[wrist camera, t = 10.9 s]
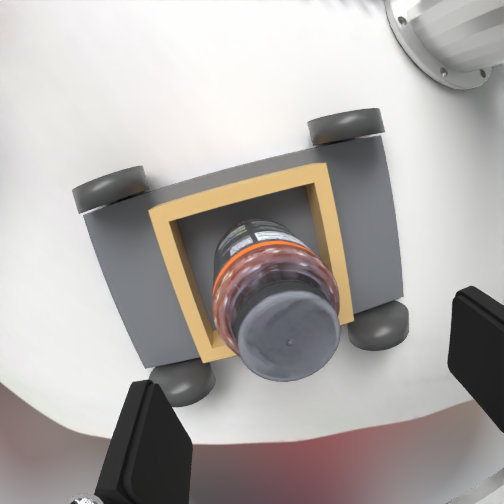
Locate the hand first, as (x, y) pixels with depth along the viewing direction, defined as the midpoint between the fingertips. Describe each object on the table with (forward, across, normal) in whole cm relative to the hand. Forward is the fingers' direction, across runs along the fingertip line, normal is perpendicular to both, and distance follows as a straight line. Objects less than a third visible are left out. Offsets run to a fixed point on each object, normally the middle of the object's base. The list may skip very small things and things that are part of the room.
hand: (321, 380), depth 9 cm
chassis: (+16, +1, +1) cm, 16 cm away
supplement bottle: (+14, +1, +1) cm, 14 cm away
